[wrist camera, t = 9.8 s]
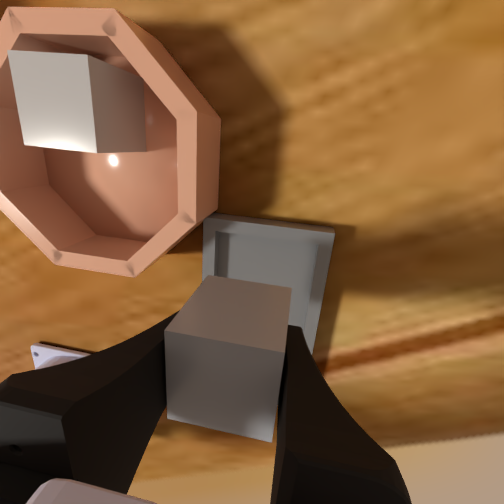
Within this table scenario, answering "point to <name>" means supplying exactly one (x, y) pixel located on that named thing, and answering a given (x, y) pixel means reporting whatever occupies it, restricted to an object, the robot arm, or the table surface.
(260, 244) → the tray
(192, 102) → the bowl
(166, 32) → the table surface
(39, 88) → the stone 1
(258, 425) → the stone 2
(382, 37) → the table surface
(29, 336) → the table surface
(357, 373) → the table surface
